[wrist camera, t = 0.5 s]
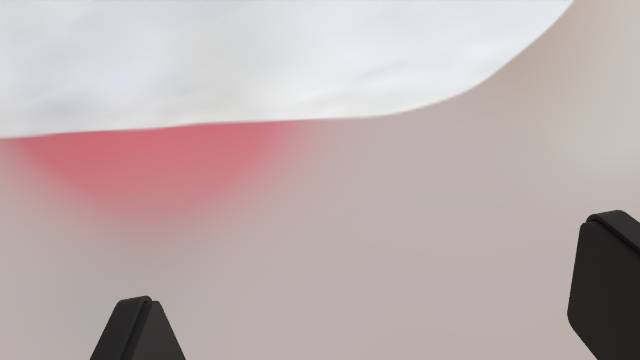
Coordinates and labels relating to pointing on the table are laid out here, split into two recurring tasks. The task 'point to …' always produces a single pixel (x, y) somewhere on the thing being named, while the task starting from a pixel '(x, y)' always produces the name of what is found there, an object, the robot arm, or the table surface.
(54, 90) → the table surface
